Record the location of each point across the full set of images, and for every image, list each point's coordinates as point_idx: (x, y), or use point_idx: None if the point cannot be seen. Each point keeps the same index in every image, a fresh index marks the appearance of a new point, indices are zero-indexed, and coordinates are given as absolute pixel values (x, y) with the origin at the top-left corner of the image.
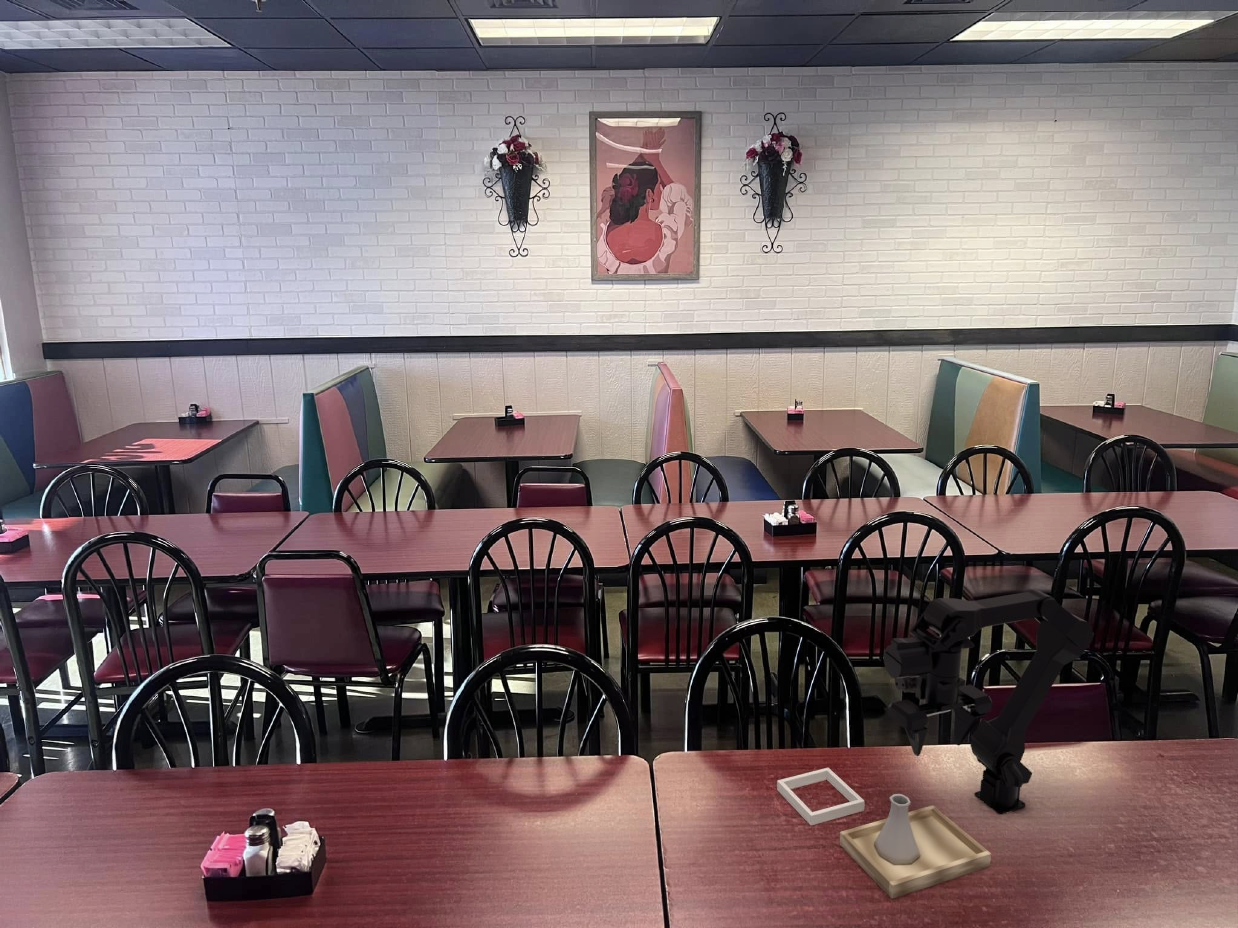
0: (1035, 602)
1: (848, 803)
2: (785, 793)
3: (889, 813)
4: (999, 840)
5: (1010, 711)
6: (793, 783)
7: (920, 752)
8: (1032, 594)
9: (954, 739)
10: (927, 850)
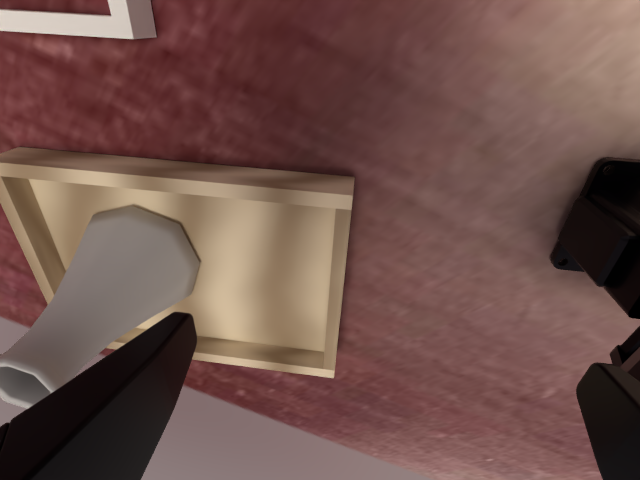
0: None
1: (60, 22)
2: None
3: (43, 313)
4: (436, 316)
5: None
6: None
7: (181, 381)
8: None
9: (611, 388)
10: (223, 284)
